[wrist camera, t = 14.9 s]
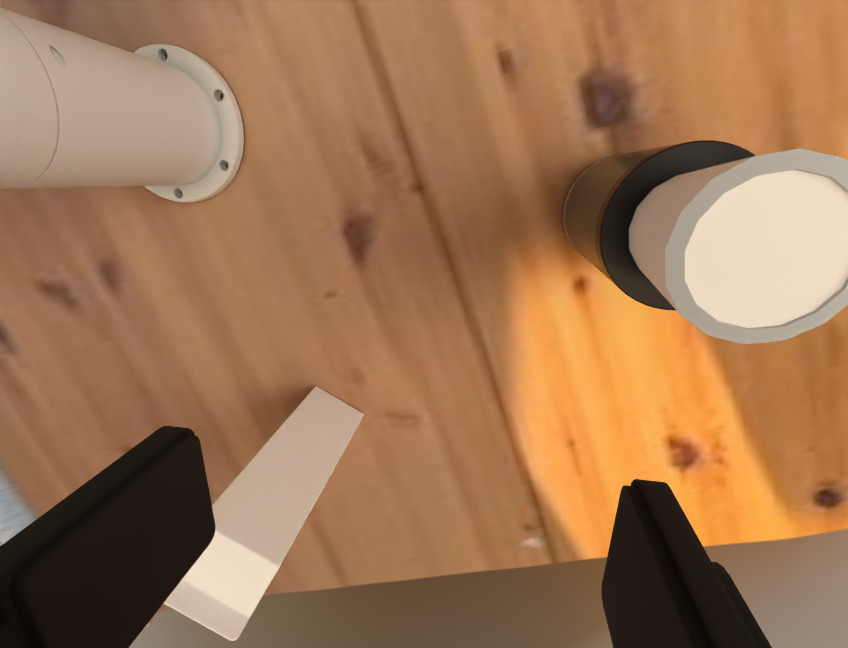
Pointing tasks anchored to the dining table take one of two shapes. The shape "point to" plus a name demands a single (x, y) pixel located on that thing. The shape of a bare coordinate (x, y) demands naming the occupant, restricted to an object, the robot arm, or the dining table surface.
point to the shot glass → (749, 244)
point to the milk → (264, 514)
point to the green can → (630, 206)
